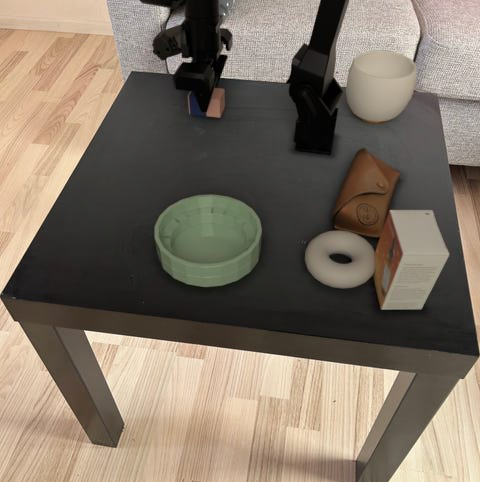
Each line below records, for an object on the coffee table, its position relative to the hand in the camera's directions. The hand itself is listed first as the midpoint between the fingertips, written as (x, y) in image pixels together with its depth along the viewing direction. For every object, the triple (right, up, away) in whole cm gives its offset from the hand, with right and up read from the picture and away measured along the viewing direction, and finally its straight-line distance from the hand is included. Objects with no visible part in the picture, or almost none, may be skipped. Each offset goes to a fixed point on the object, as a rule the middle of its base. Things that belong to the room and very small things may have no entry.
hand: (207, 105), depth 90 cm
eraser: (0, -1, +1) cm, 1 cm away
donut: (+20, -33, -22) cm, 44 cm away
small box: (+27, -36, -24) cm, 51 cm away
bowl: (+2, -30, -20) cm, 36 cm away
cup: (+32, -1, +3) cm, 32 cm away
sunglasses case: (+27, -21, -12) cm, 36 cm away
